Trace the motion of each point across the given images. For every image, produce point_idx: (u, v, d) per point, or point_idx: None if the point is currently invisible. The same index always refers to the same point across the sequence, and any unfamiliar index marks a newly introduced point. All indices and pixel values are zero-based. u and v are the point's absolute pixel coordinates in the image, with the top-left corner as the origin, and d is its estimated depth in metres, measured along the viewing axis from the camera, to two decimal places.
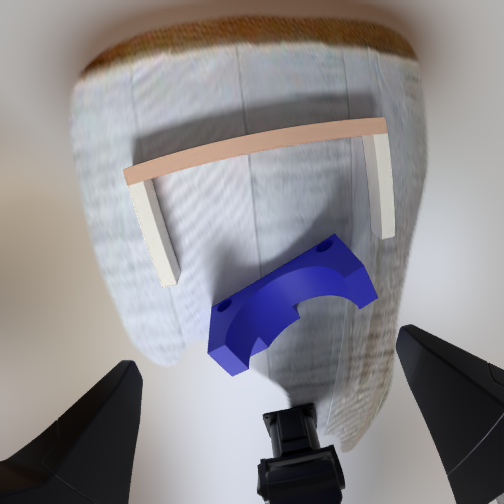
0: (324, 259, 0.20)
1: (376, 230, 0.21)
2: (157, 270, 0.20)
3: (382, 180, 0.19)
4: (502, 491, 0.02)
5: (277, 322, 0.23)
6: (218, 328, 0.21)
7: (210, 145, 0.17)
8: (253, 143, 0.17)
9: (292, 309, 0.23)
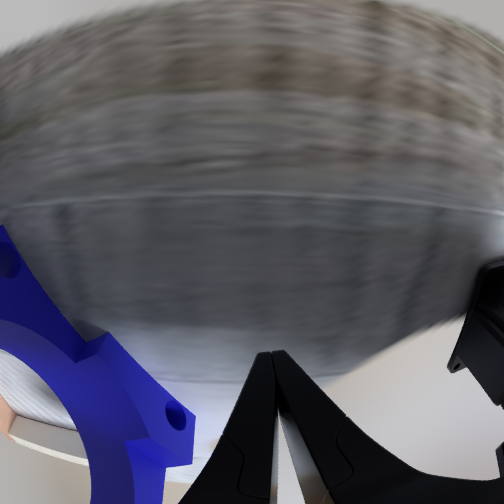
0: None
1: None
2: (78, 462, 0.11)
3: None
4: None
5: (109, 395, 0.09)
6: None
7: None
8: None
9: (81, 364, 0.09)
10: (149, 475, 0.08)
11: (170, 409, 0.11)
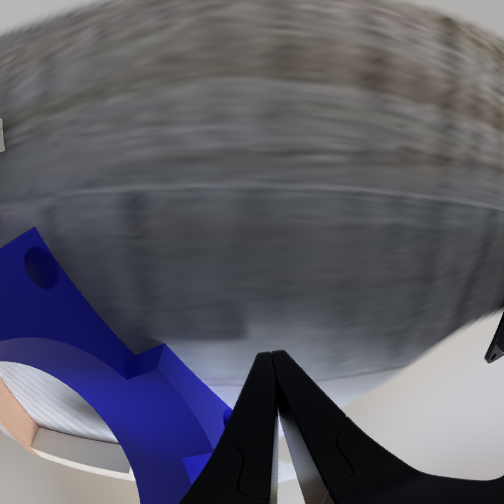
0: None
1: None
2: (114, 476, 0.11)
3: None
4: None
5: (166, 412, 0.09)
6: None
7: None
8: None
9: (134, 380, 0.08)
10: None
11: (223, 418, 0.11)
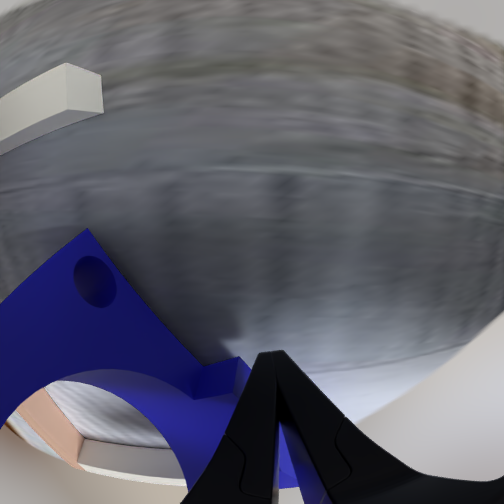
0: None
1: (74, 115, 0.06)
2: (182, 485, 0.11)
3: None
4: None
5: None
6: None
7: (17, 410, 0.09)
8: None
9: (203, 401, 0.08)
10: None
11: None
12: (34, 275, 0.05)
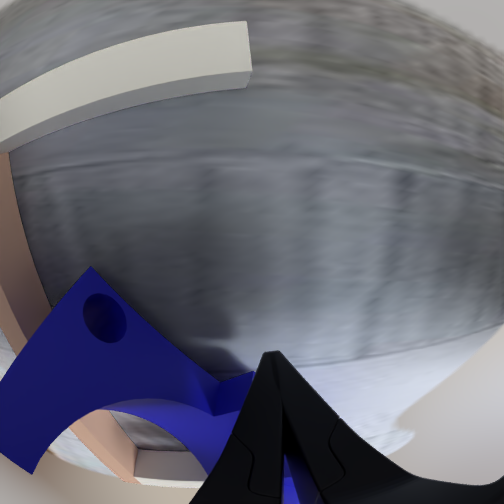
0: None
1: (231, 81, 0.06)
2: None
3: (46, 106, 0.04)
4: None
5: None
6: None
7: (70, 428, 0.09)
8: None
9: (222, 416, 0.08)
10: None
11: None
12: (45, 323, 0.05)
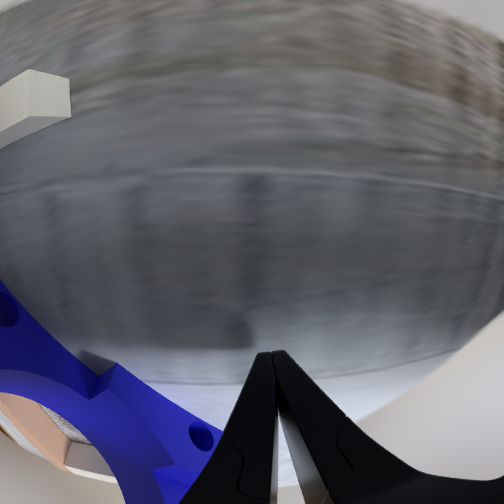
0: None
1: (40, 121, 0.05)
2: None
3: None
4: None
5: (128, 427, 0.09)
6: None
7: (3, 412, 0.08)
8: None
9: (94, 400, 0.08)
10: None
11: (196, 430, 0.11)
12: None
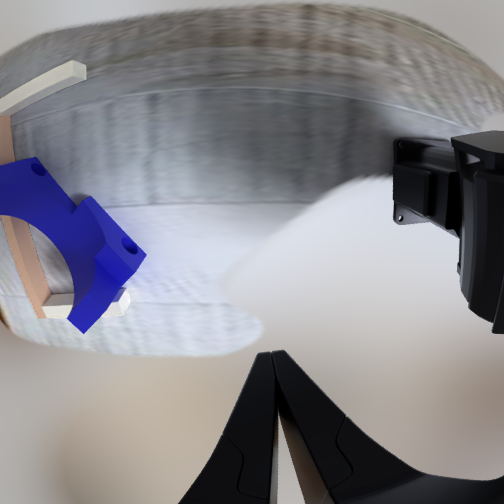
0: None
1: (75, 79, 0.13)
2: (106, 315, 0.19)
3: (22, 95, 0.12)
4: None
5: (88, 229, 0.17)
6: None
7: (12, 253, 0.17)
8: (6, 221, 0.16)
9: (74, 213, 0.17)
10: (107, 281, 0.16)
11: (129, 249, 0.19)
12: (18, 161, 0.14)
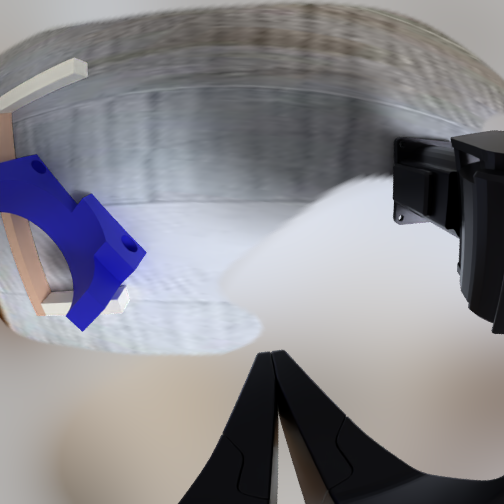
0: None
1: (76, 77, 0.13)
2: (105, 312, 0.19)
3: (24, 93, 0.12)
4: None
5: (88, 227, 0.17)
6: None
7: (12, 250, 0.17)
8: (6, 218, 0.16)
9: (74, 210, 0.17)
10: (106, 279, 0.16)
11: (129, 247, 0.19)
12: (18, 158, 0.14)
